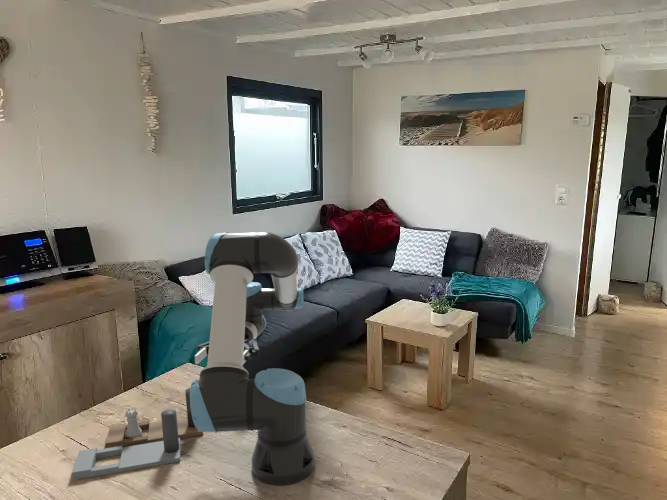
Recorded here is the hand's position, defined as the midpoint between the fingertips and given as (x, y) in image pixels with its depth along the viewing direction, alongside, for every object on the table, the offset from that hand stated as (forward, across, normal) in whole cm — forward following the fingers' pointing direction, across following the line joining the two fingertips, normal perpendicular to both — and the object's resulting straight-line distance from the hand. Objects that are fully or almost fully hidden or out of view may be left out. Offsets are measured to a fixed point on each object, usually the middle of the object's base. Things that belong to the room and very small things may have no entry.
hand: (217, 361), depth 150 cm
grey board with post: (+30, +12, -14) cm, 35 cm away
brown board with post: (+18, +11, -14) cm, 25 cm away
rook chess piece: (+20, +16, -14) cm, 30 cm away
